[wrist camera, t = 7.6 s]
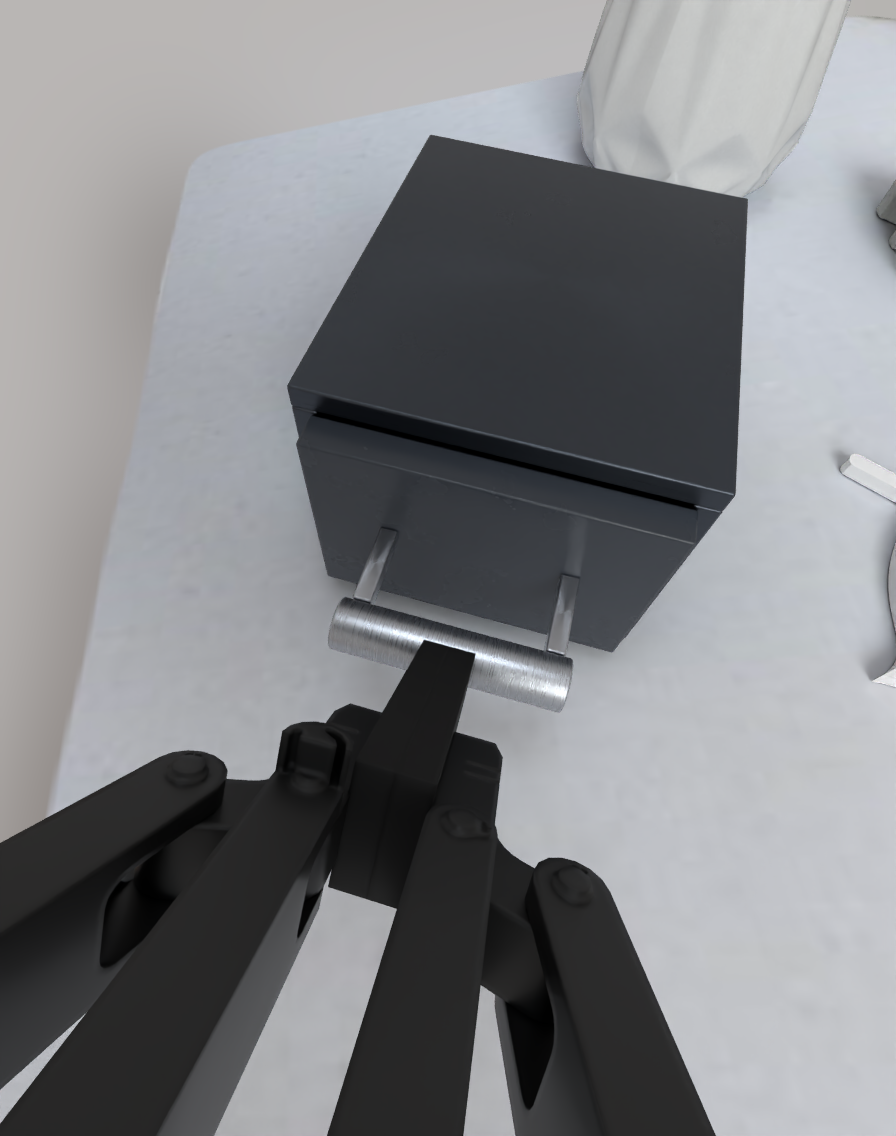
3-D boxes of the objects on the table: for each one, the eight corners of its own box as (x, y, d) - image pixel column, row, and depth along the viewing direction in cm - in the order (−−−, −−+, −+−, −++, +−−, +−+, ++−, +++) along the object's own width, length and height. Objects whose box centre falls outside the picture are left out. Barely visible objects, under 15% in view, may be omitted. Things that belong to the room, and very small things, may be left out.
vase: (588, 233, 38) (684, -131, 25) (549, 117, 45) (607, -216, 32) (802, 232, 39) (1000, -113, 26) (731, 119, 46) (860, -199, 33)
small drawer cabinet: (624, 638, 24) (736, 495, 16) (326, 559, 25) (285, 385, 17) (659, 387, 32) (748, 197, 23) (424, 333, 33) (429, 133, 24)
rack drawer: (596, 766, 21) (685, 694, 14) (284, 676, 22) (227, 570, 15) (649, 403, 30) (719, 251, 23) (423, 350, 31) (427, 190, 24)
